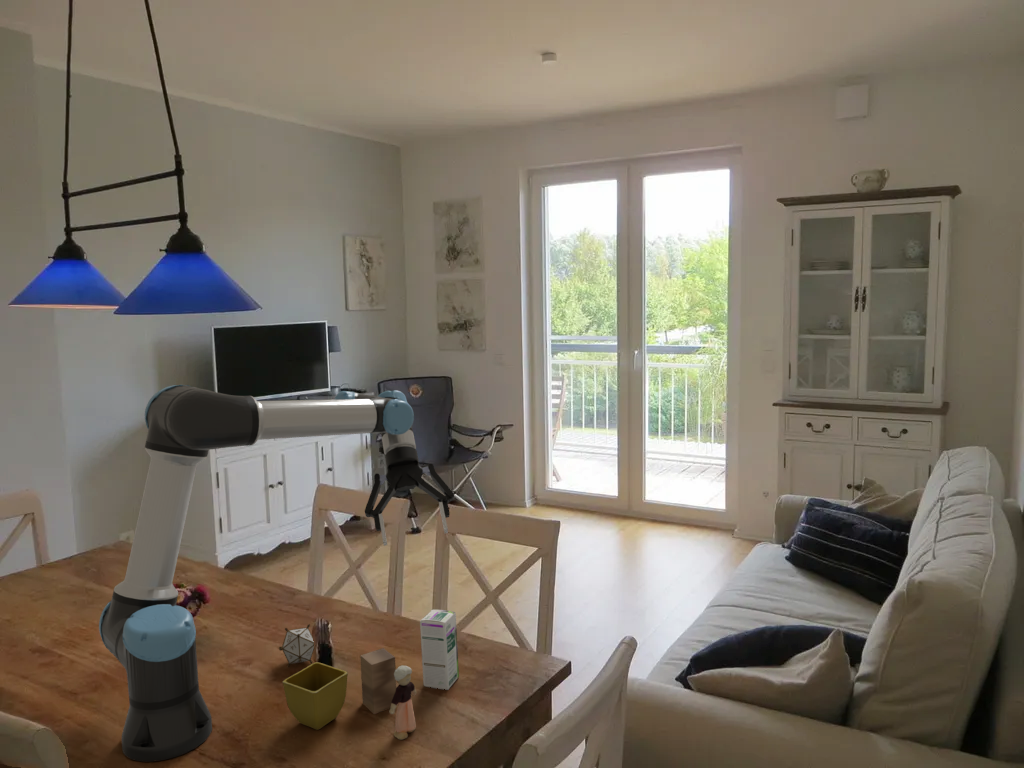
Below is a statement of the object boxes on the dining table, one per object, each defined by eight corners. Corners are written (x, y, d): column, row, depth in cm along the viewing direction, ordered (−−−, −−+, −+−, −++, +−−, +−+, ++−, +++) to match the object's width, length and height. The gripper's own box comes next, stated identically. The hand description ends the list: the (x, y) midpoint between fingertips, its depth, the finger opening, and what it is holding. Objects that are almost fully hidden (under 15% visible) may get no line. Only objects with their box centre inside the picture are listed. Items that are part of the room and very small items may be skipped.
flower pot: (317, 739, 140) (314, 692, 139) (283, 726, 144) (281, 680, 143) (351, 716, 147) (348, 671, 146) (318, 704, 152) (316, 661, 151)
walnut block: (374, 714, 148) (371, 664, 147) (362, 703, 152) (360, 655, 151) (397, 705, 151) (395, 657, 149) (385, 695, 155) (383, 648, 153)
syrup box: (448, 690, 156) (446, 622, 154) (422, 686, 158) (419, 619, 156) (459, 677, 161) (457, 611, 159) (433, 673, 163) (431, 608, 161)
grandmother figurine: (407, 744, 137) (404, 677, 136) (387, 741, 138) (384, 674, 137) (423, 721, 145) (421, 657, 143) (404, 718, 146) (402, 655, 144)
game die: (305, 682, 168) (304, 659, 162) (270, 666, 169) (269, 643, 163) (326, 647, 175) (326, 624, 168) (293, 632, 176) (292, 609, 169)
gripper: (452, 449, 186) (470, 531, 175) (349, 468, 181) (361, 554, 171) (452, 435, 179) (471, 520, 169) (345, 455, 175) (357, 542, 165)
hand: (415, 537), depth 170 cm, fingers open, 13 cm apart
